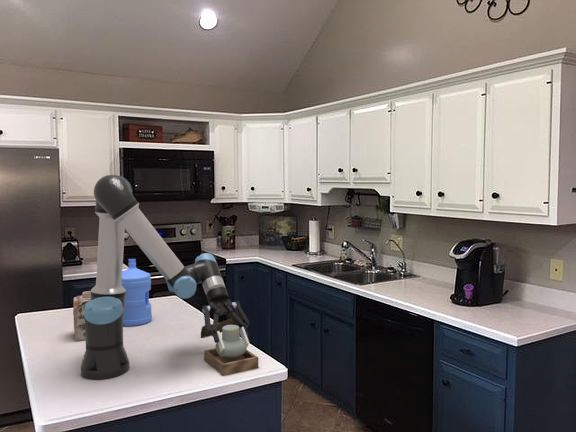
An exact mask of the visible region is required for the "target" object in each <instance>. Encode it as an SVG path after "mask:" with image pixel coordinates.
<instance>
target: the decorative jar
mask: <svg viewBox="0 0 576 432" xmlns="http://www.w3.org/2000/svg"><path fill="white" fill-rule="evenodd" d="M90 298H91V290H87V291H83V292H82V294H81V295H77V296H75V297H73V300H72V305H73V307H72V308H73V309H72V314H73V332H74V333H73V334H74V339H75V342H80V341H86V340H85V317H84V310H85V305H86V303H87V302H89V301H90Z"/></svg>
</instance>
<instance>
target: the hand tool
mask: <svg viewBox="0 0 576 432" xmlns="http://www.w3.org/2000/svg"><path fill="white" fill-rule="evenodd" d="M226 325H237V324H236V323H235V322H234V321H233V320H232V319H231V318H230V317H229V318H228V319H225V320H221V321H220V322H218V325H217V331H219V332H220V331H221V332H222V328H223V327H224V326H226ZM212 326H213V323H211V329H212ZM207 337H212V336H211V334H206V329H205V325H203V326H202V327H201V330H200V338H207Z"/></svg>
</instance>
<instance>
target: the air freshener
mask: <svg viewBox="0 0 576 432" xmlns="http://www.w3.org/2000/svg"><path fill="white" fill-rule="evenodd" d="M239 330H240V328H239V326H237V324H236V325H226V326H224V327H223V328H222V330H221V333H222V334H221V338H222V341H223V344H224V347H225V349H224V351H223V352H220V349H219V346H218V343H215V348H216V351H217V353H218V354H219V355H220V356H221V357H223V358H236V357H239V356H241V355H242V354H244V353H245V351H246V350H248V349H247V348H248V347H246V343H245V341H244V340H243V339H242V337H241V335H240V332H239Z"/></svg>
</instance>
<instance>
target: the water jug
mask: <svg viewBox="0 0 576 432" xmlns="http://www.w3.org/2000/svg"><path fill="white" fill-rule="evenodd" d="M127 260H128V263H127V264H128V268H126V269H125V270H122V287H123V288H124V289H125V290H126V292H125V306H126V308H125V313H124V317H123V327H136V326H137V327H138V326H141V325H142V326H143V325H145V324H148V323H150V322H152V320H153V315H152V303H151V302H150V299H149V298H150V293H149V291H150V290H152V279H151V278H152V277H151V274H150V273H149V272H147V271H144V270H141V269H139V268H138V267H137V261H136V260H137V259H136V258H128V259H127Z"/></svg>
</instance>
